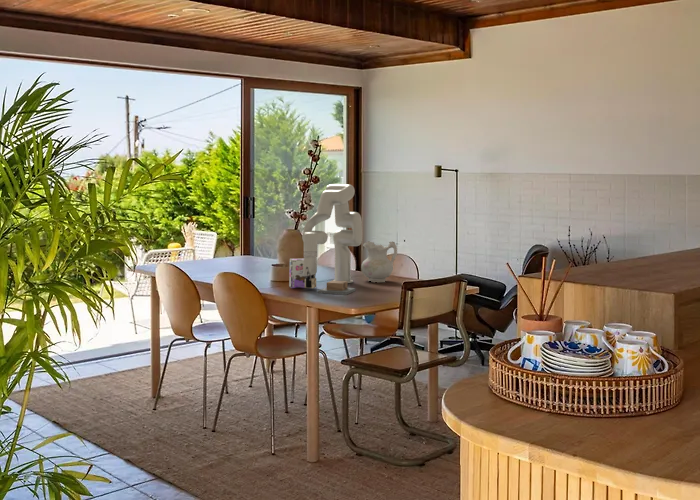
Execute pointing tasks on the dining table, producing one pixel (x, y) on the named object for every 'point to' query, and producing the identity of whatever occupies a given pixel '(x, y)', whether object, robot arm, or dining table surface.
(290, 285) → the candy box
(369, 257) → the ceramic pitcher
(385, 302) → the dining table surface
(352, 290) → the grey brown stepped pedestal
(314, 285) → the maple cube
